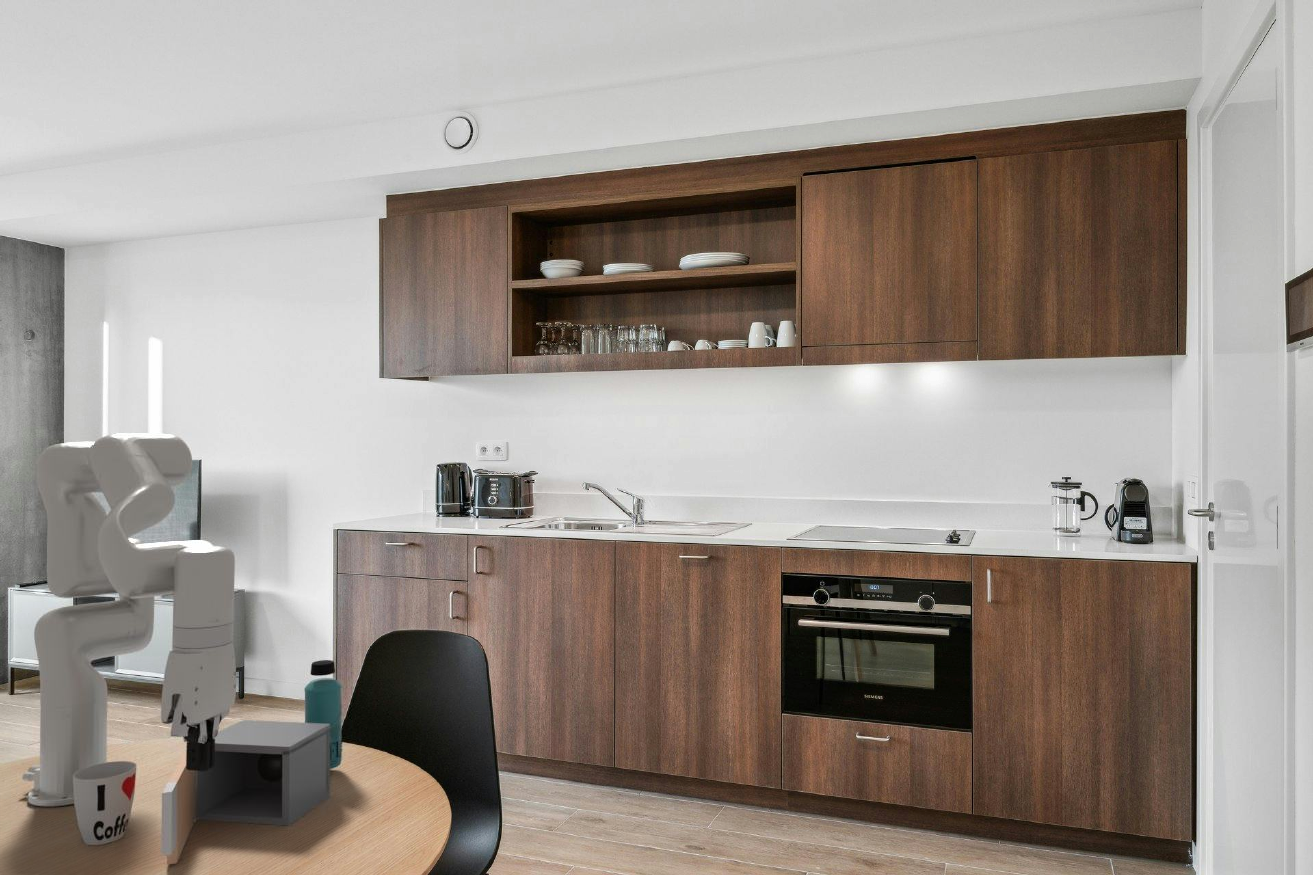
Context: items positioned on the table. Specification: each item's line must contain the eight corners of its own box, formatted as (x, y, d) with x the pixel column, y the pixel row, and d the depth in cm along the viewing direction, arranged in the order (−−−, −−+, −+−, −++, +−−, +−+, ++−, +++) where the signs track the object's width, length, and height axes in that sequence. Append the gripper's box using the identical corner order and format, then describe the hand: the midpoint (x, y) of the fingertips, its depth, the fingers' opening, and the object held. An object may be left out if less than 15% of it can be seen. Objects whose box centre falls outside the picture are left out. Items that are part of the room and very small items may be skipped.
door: (187, 818, 138) (188, 745, 138) (196, 817, 138) (196, 744, 138) (161, 877, 118) (161, 792, 118) (171, 875, 118) (171, 791, 119)
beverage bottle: (329, 780, 155) (329, 666, 155) (295, 778, 156) (295, 664, 156) (349, 768, 161) (349, 657, 162) (316, 765, 162) (317, 656, 163)
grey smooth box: (195, 819, 138) (195, 742, 139) (242, 790, 150) (243, 719, 150) (289, 825, 136) (289, 746, 136) (330, 796, 148) (330, 723, 148)
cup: (89, 854, 126) (89, 783, 126) (61, 841, 130) (61, 773, 131) (146, 833, 133) (147, 766, 133) (118, 822, 137) (119, 757, 138)
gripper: (213, 624, 131) (211, 748, 130) (139, 646, 116) (136, 786, 116) (260, 626, 129) (257, 752, 129) (191, 649, 115) (187, 791, 115)
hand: (200, 768), depth 122 cm, fingers closed
